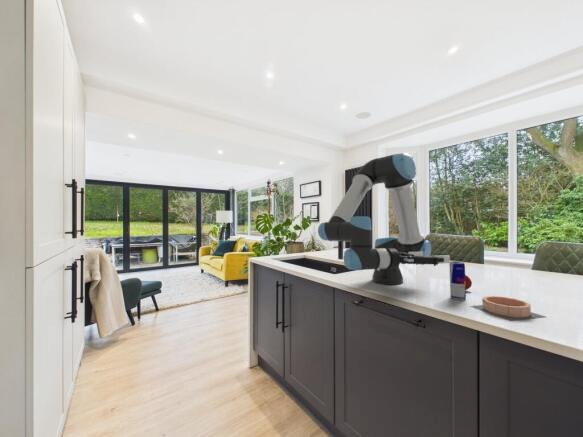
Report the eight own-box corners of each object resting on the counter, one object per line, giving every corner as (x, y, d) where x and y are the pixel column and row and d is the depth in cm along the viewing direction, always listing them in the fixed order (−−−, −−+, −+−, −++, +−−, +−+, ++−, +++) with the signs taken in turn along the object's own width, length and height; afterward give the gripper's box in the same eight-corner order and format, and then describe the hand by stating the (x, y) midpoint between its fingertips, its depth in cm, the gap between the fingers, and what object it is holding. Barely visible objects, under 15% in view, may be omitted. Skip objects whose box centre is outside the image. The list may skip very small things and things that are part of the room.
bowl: (474, 306, 89) (474, 297, 89) (502, 304, 91) (502, 295, 91) (510, 319, 77) (509, 308, 77) (540, 316, 80) (540, 305, 80)
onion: (474, 292, 108) (474, 274, 108) (459, 292, 109) (459, 273, 110) (468, 289, 114) (467, 271, 114) (454, 288, 115) (453, 271, 115)
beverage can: (461, 302, 96) (460, 262, 96) (447, 298, 100) (446, 261, 101) (468, 300, 98) (467, 261, 99) (455, 296, 103) (454, 260, 103)
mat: (469, 307, 90) (469, 306, 90) (501, 304, 92) (501, 303, 92) (510, 322, 76) (510, 321, 76) (547, 318, 79) (547, 316, 79)
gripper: (368, 263, 106) (413, 262, 110) (407, 275, 81) (462, 272, 85) (368, 245, 106) (413, 245, 110) (406, 251, 81) (462, 250, 85)
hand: (435, 256), depth 98 cm, fingers open, 13 cm apart
